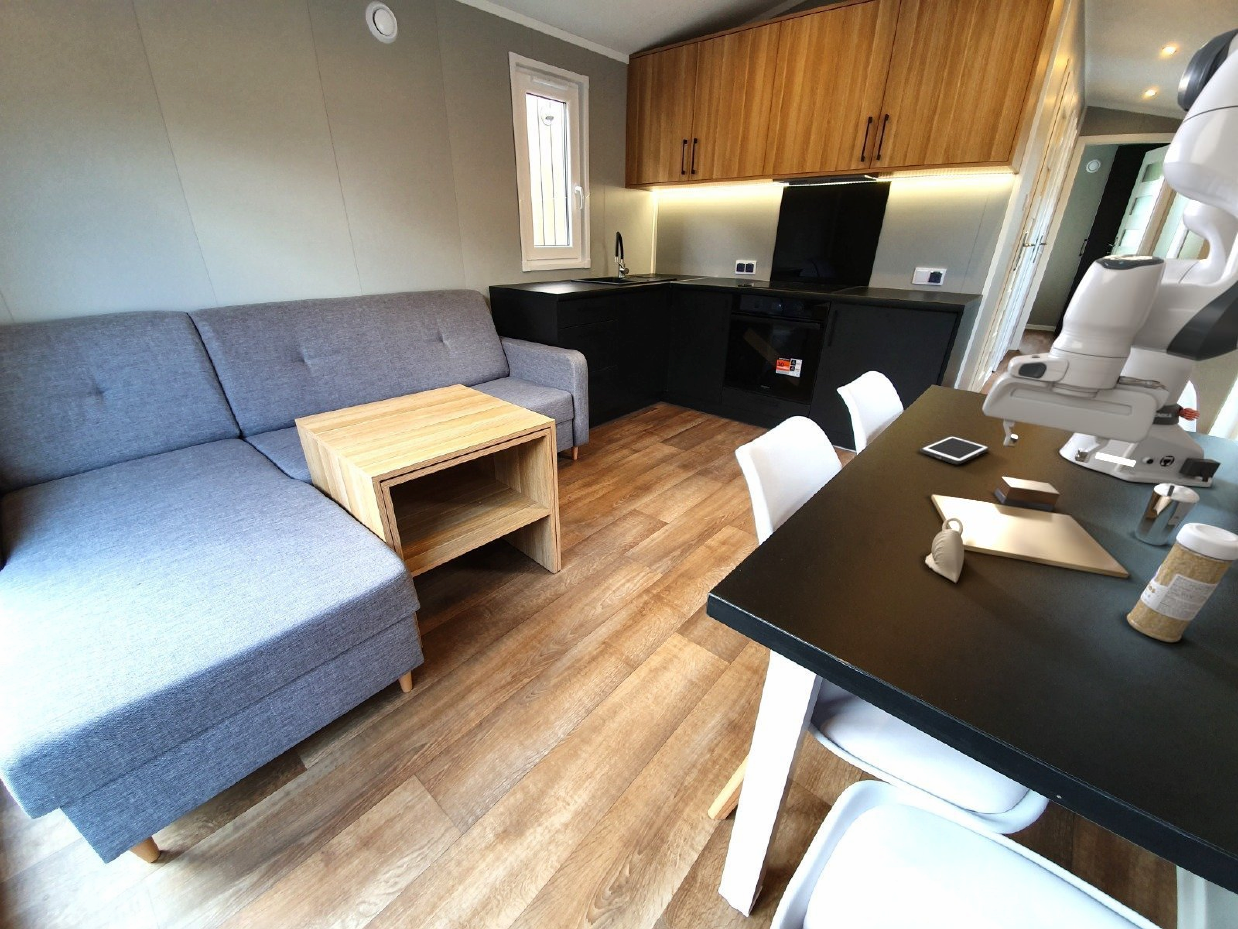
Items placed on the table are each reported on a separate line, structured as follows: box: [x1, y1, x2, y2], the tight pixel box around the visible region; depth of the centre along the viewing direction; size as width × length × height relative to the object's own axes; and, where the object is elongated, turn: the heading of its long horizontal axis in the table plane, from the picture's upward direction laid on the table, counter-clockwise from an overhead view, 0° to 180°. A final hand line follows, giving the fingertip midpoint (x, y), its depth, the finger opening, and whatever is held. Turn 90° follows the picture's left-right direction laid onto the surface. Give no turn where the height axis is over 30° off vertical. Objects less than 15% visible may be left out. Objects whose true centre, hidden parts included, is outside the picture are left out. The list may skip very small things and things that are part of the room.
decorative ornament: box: [924, 517, 965, 584], centre depth 66 cm, size 4×8×5 cm, turn 139°
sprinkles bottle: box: [1126, 522, 1238, 643], centre depth 54 cm, size 5×5×13 cm
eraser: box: [994, 476, 1061, 513], centre depth 84 cm, size 7×4×4 cm, turn 73°
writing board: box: [930, 494, 1130, 579], centre depth 75 cm, size 20×16×1 cm
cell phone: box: [920, 435, 989, 466], centre depth 104 cm, size 8×15×1 cm, turn 125°
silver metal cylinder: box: [1134, 483, 1200, 547], centre depth 73 cm, size 4×5×10 cm
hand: (1043, 453), depth 80 cm, fingers open, 8 cm apart
